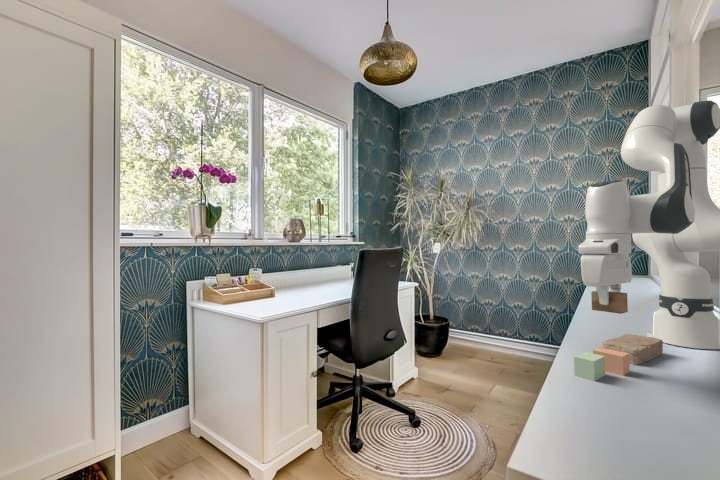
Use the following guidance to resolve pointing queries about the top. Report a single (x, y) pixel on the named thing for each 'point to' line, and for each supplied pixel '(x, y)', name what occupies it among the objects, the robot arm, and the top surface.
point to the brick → (636, 347)
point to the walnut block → (611, 302)
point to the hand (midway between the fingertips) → (609, 303)
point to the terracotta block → (614, 361)
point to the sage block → (589, 366)
